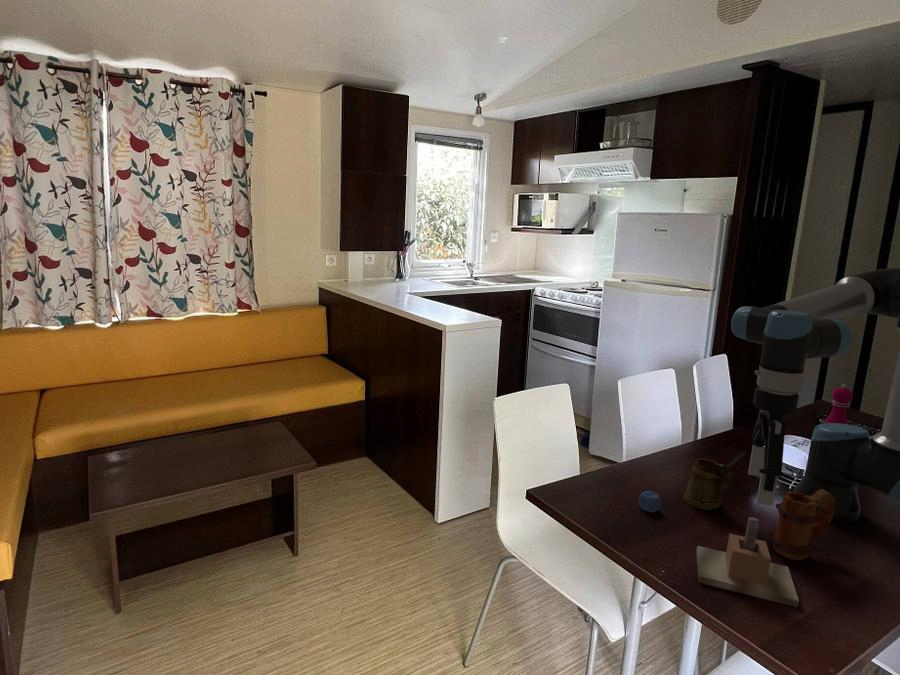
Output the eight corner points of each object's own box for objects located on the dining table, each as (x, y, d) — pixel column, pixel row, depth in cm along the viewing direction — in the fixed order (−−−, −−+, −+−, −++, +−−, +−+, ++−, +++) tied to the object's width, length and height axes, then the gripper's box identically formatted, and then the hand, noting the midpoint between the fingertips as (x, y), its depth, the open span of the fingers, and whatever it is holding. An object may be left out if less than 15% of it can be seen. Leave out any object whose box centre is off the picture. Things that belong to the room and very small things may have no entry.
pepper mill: (825, 431, 208) (836, 379, 204) (848, 438, 202) (860, 385, 198) (818, 435, 203) (829, 383, 199) (842, 442, 198) (853, 388, 194)
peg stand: (786, 572, 122) (797, 516, 119) (797, 607, 111) (810, 545, 108) (696, 551, 128) (705, 497, 125) (698, 582, 117) (707, 523, 114)
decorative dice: (637, 505, 148) (639, 491, 147) (650, 504, 149) (652, 490, 148) (646, 513, 144) (648, 499, 143) (660, 511, 145) (662, 497, 144)
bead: (761, 566, 121) (765, 541, 119) (765, 585, 114) (770, 559, 113) (725, 558, 123) (729, 533, 122) (728, 576, 117) (732, 550, 116)
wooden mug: (727, 521, 141) (739, 455, 138) (677, 500, 151) (686, 437, 147) (743, 511, 147) (754, 446, 143) (693, 490, 157) (702, 430, 153)
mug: (788, 567, 123) (800, 505, 120) (758, 546, 131) (769, 487, 128) (839, 559, 128) (852, 498, 124) (807, 539, 135) (819, 481, 132)
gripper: (748, 371, 123) (733, 461, 127) (764, 405, 100) (746, 513, 105) (787, 376, 120) (770, 468, 125) (813, 412, 98) (792, 522, 102)
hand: (759, 489), depth 115 cm, fingers open, 13 cm apart
